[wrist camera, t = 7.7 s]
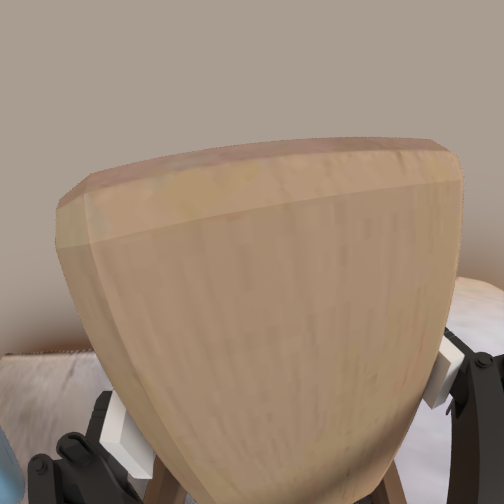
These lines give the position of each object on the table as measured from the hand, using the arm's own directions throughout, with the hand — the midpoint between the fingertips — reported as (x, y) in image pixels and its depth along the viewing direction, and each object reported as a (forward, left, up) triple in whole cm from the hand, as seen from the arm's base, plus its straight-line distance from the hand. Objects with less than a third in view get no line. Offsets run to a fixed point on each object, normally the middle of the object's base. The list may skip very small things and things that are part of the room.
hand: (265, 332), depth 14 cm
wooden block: (0, -2, -12) cm, 12 cm away
